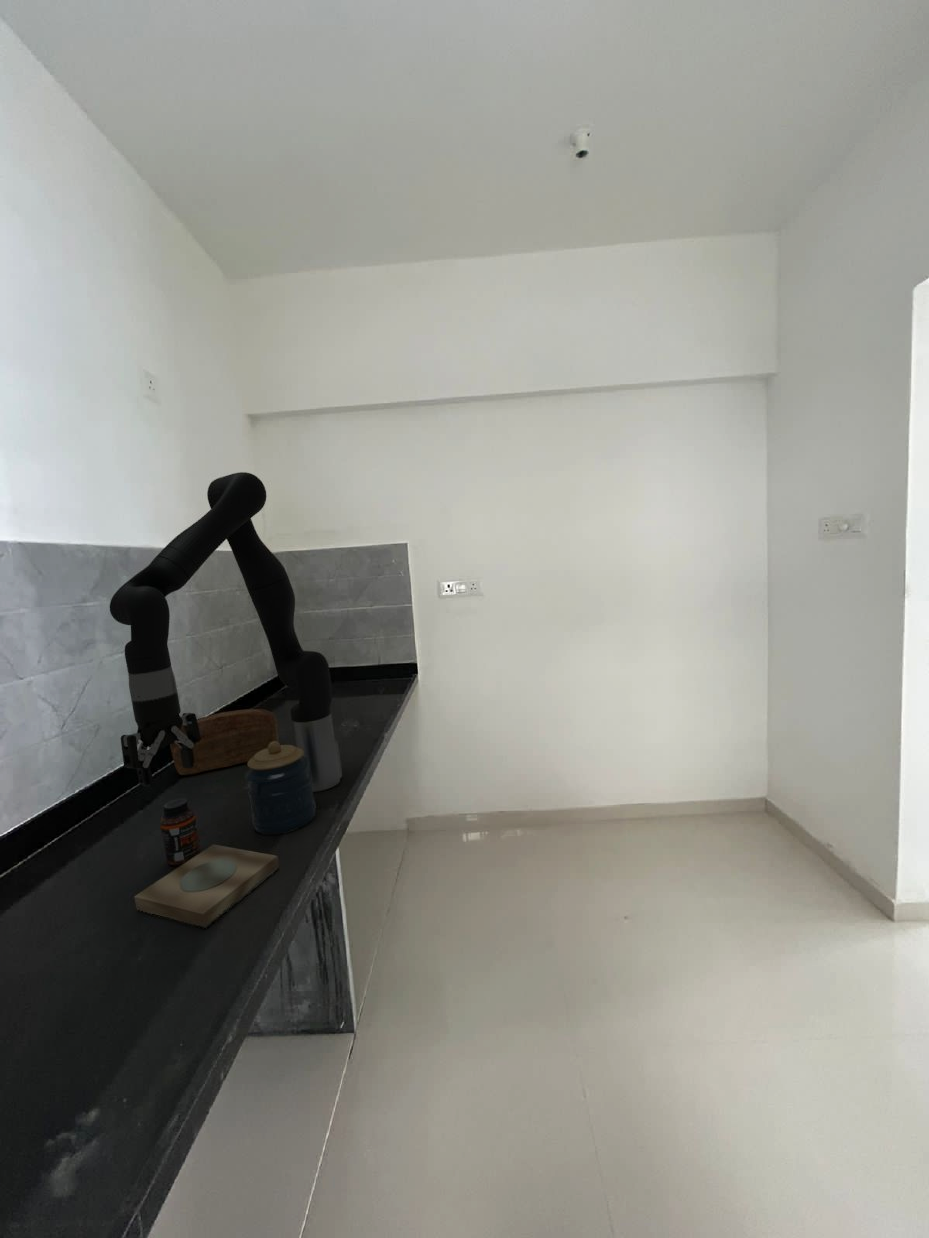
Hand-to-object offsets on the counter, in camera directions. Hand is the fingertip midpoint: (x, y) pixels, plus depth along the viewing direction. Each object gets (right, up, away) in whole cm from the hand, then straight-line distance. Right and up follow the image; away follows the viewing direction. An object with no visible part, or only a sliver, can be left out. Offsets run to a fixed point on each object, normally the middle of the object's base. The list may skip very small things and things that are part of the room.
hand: (169, 776), depth 103 cm
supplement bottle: (+2, -17, +2) cm, 17 cm away
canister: (+18, -14, +13) cm, 26 cm away
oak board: (+12, -17, -9) cm, 23 cm away
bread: (-11, -11, +52) cm, 55 cm away
